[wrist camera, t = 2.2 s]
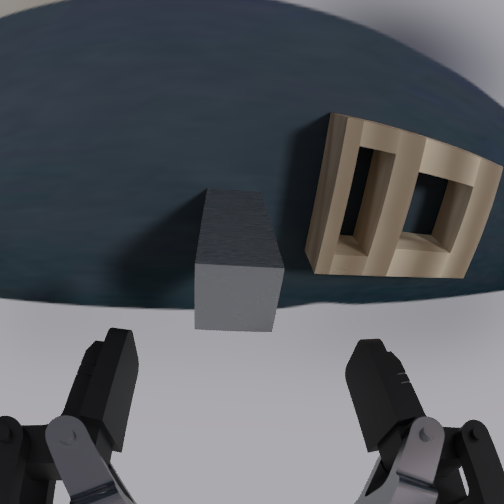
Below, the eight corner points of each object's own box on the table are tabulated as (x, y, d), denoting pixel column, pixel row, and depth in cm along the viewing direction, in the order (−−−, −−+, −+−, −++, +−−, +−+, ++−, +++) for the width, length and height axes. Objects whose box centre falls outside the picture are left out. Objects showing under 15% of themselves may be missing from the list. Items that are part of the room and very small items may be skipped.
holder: (304, 250, 22) (314, 273, 20) (330, 112, 17) (347, 117, 15) (445, 259, 24) (463, 278, 21) (479, 155, 19) (503, 167, 17)
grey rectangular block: (204, 236, 21) (194, 329, 13) (207, 188, 19) (195, 263, 12) (255, 239, 22) (271, 331, 14) (261, 192, 20) (284, 268, 12)
